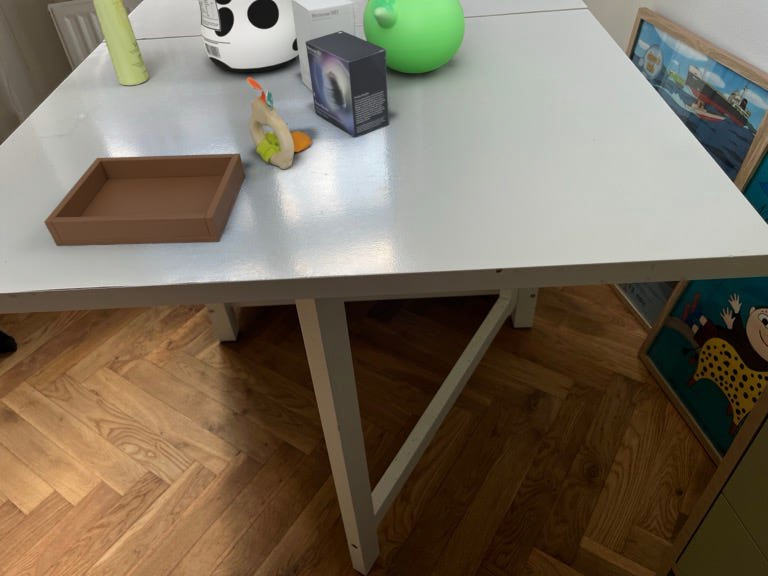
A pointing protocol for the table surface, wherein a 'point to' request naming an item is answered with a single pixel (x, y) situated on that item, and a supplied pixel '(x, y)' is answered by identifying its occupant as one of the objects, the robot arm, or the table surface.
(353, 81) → the small box
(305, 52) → the white packaging box
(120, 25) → the tube
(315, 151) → the table surface
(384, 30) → the toy bird
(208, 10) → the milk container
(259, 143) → the rattle
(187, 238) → the tray
